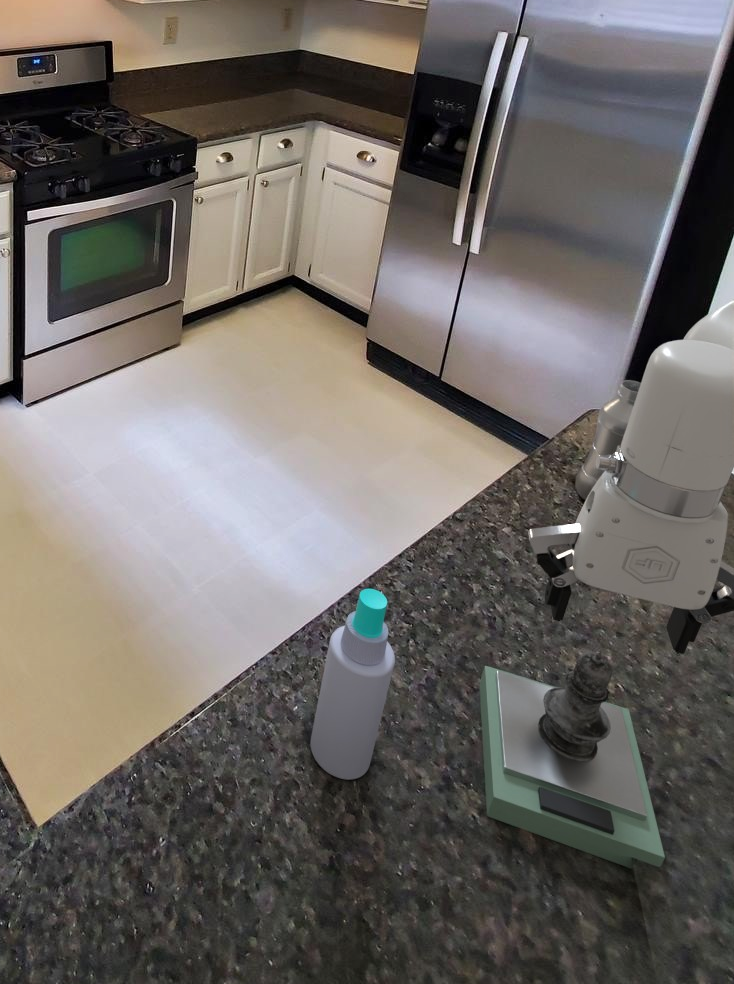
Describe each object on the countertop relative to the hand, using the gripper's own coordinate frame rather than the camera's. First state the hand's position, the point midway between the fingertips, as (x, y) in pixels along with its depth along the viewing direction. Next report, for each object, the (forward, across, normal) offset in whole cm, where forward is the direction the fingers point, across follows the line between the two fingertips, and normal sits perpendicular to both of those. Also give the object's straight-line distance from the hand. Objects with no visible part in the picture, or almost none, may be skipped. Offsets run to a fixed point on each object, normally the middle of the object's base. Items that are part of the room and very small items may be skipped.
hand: (613, 625), depth 75 cm
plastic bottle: (+20, +10, +49) cm, 54 cm away
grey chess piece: (+16, 0, 0) cm, 16 cm away
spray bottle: (+19, -22, -8) cm, 30 cm away
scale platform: (+16, -1, 0) cm, 16 cm away
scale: (+19, -1, -1) cm, 19 cm away
